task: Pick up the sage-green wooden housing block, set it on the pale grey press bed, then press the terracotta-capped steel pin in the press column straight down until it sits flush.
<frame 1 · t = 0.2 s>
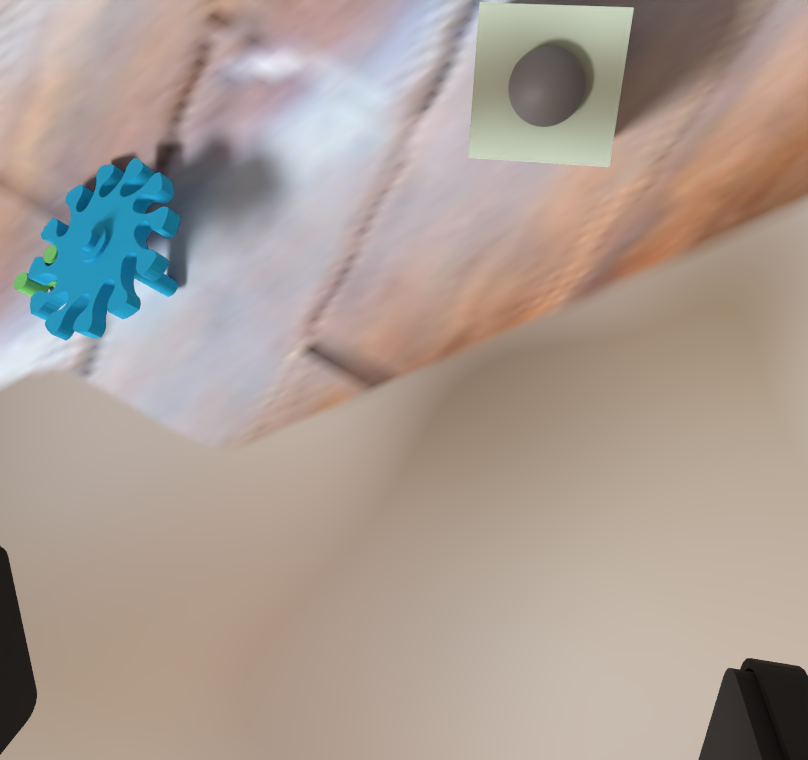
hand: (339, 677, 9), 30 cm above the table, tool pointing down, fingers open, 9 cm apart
housing: (546, 82, 33), on the table
gear: (134, 235, 40), on the table
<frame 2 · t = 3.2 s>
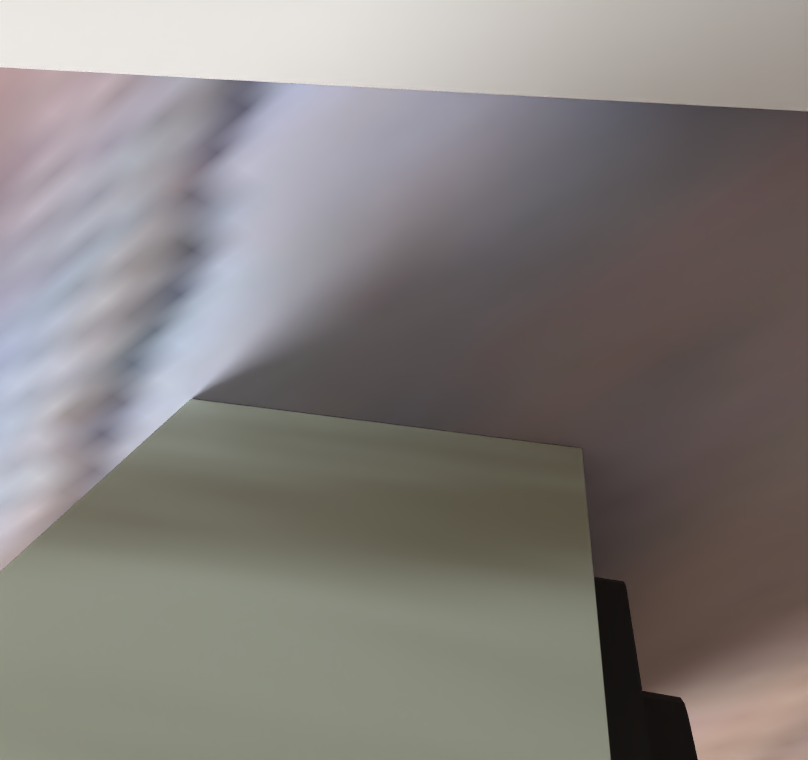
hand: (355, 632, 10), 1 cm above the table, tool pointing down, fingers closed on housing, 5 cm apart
housing: (372, 582, 11), on the table, touching gripper
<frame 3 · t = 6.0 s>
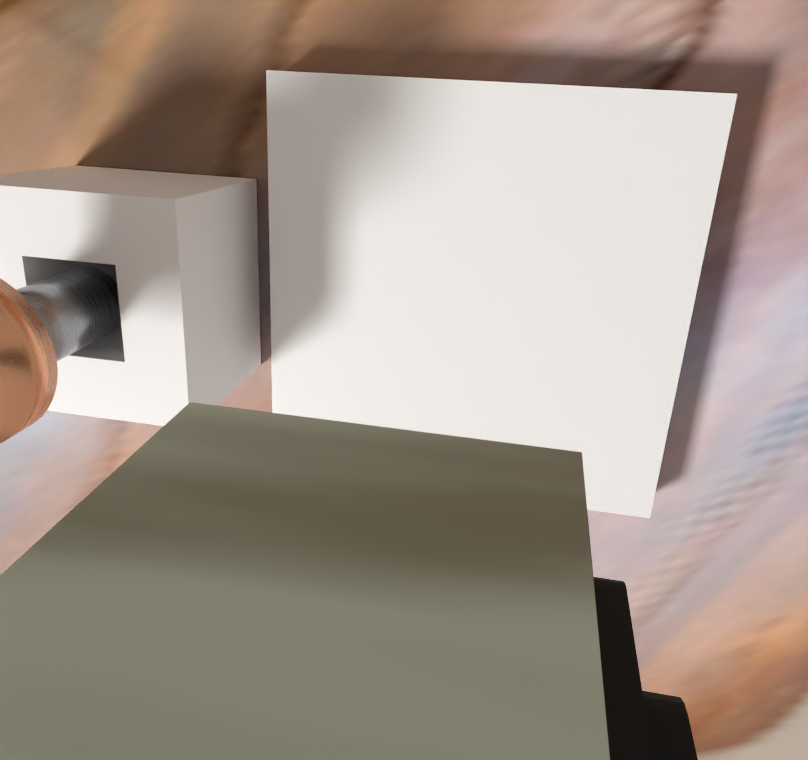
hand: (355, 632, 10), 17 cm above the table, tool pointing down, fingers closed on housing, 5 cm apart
housing: (371, 586, 11), point 16 cm above the table, touching gripper
press bed: (474, 297, 25), on the table
press pin: (30, 328, 20), point 8 cm above the table, slide at 0.0 cm
when the fingers open (4 cm above the table, at t = 9.2 s): housing drops 1 cm, resting on press bed.
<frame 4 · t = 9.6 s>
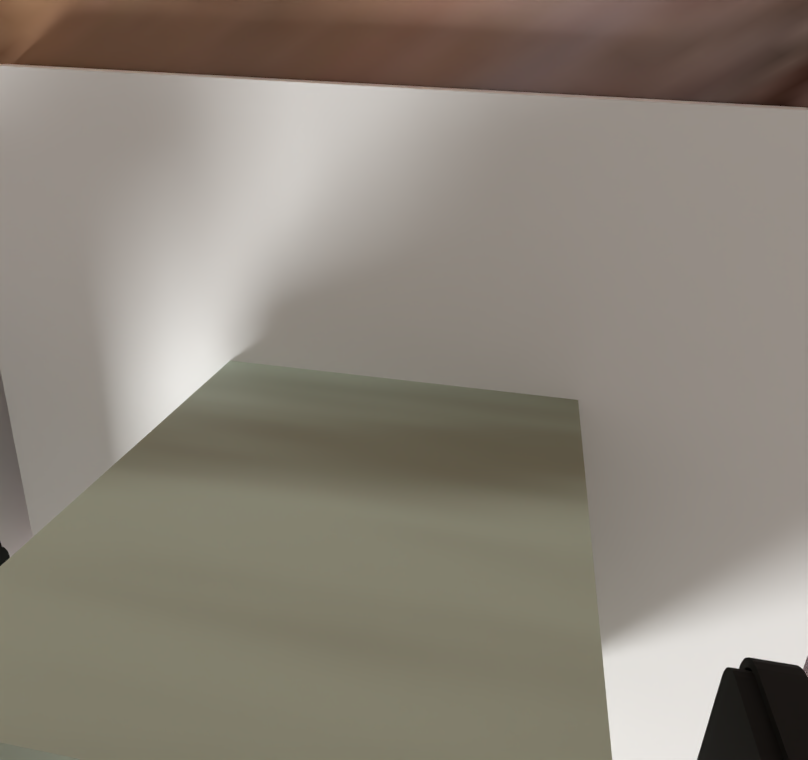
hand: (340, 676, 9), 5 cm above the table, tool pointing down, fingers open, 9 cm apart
housing: (391, 527, 12), point 1 cm above the table, touching press bed
press bed: (406, 484, 14), on the table
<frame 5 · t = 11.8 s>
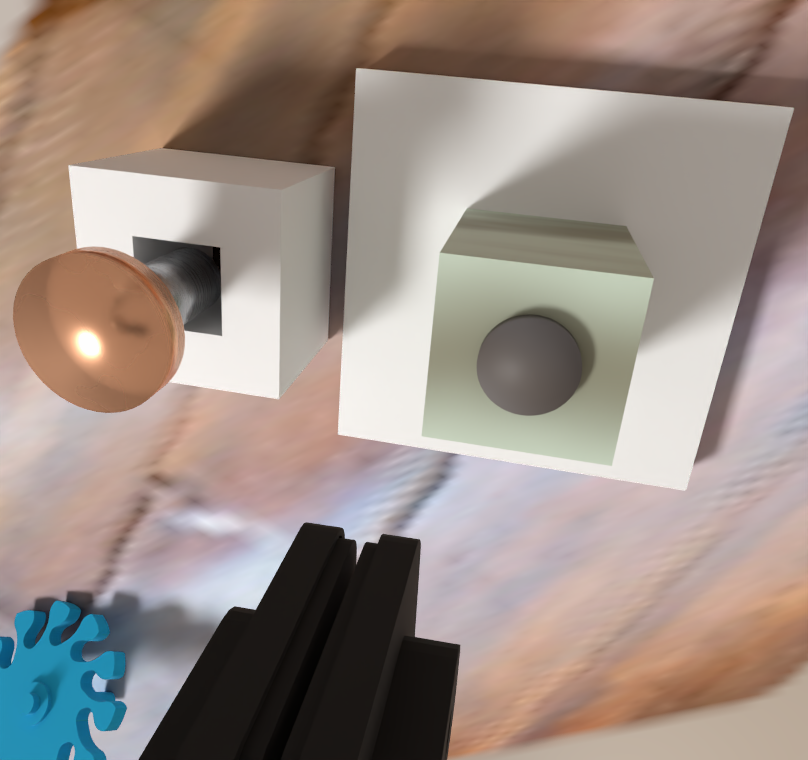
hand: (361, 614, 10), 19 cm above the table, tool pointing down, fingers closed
housing: (533, 293, 26), point 1 cm above the table, touching press bed
press bed: (533, 283, 27), on the table
gear: (79, 647, 40), on the table
press pin: (147, 304, 22), point 8 cm above the table, slide at 0.0 cm
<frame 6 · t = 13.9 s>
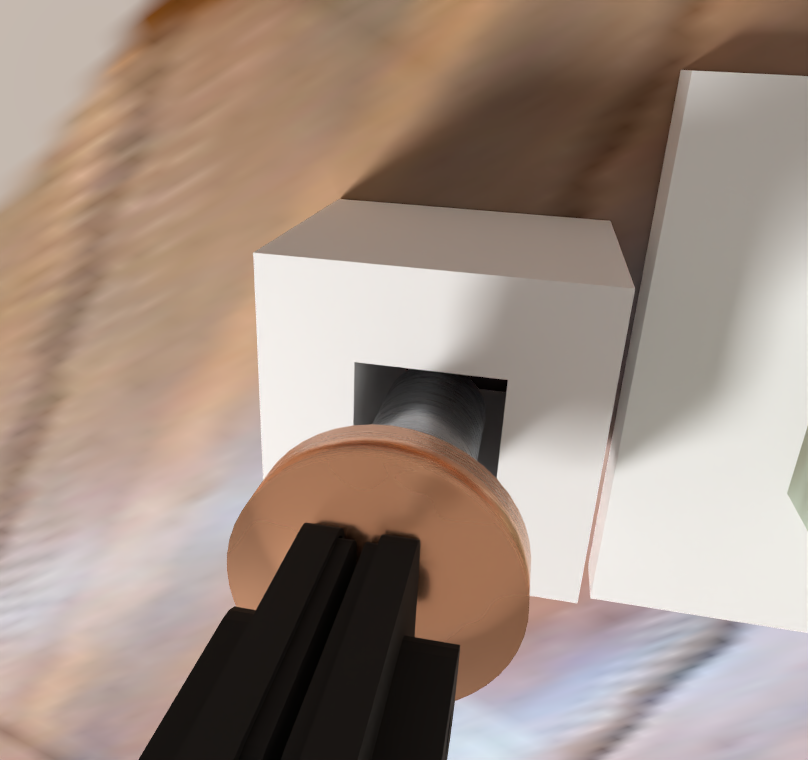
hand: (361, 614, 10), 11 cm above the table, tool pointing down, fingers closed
press pin: (410, 483, 13), point 8 cm above the table, slide at 0.3 cm, touching gripper
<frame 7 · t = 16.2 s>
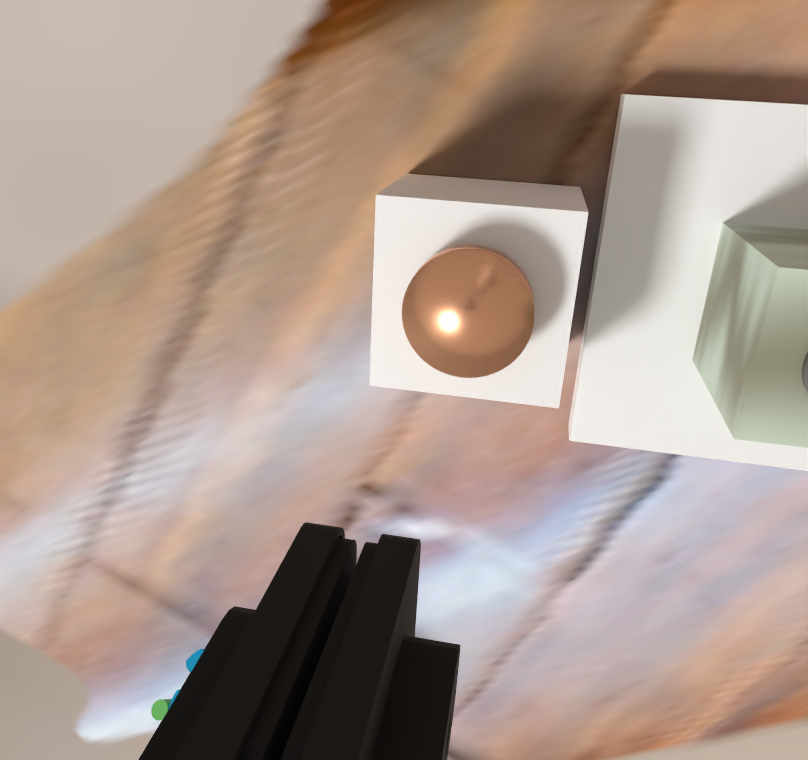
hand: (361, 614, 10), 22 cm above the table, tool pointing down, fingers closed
housing: (782, 300, 27), point 1 cm above the table, touching press bed
press bed: (770, 291, 29), on the table
gear: (270, 660, 42), on the table
press pin: (474, 292, 26), point 4 cm above the table, slide at 3.7 cm
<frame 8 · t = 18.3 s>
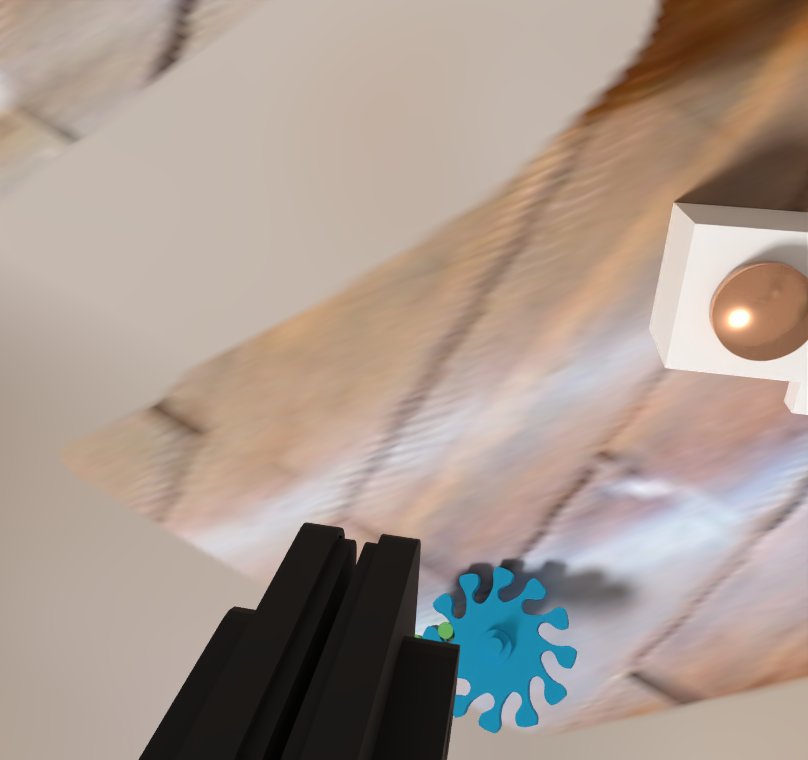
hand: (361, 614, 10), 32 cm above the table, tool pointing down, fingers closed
gear: (493, 605, 50), on the table
press pin: (749, 296, 34), point 4 cm above the table, slide at 3.7 cm
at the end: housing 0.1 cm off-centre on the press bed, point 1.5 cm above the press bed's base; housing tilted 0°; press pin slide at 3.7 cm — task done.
